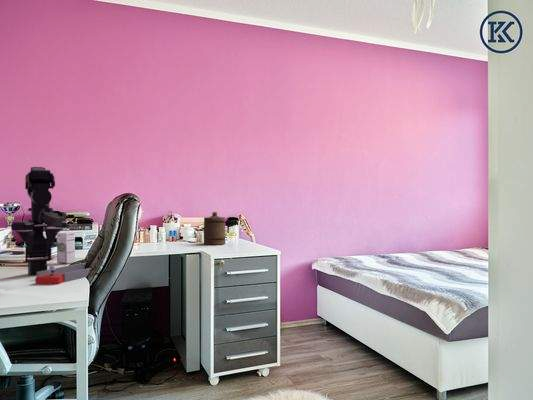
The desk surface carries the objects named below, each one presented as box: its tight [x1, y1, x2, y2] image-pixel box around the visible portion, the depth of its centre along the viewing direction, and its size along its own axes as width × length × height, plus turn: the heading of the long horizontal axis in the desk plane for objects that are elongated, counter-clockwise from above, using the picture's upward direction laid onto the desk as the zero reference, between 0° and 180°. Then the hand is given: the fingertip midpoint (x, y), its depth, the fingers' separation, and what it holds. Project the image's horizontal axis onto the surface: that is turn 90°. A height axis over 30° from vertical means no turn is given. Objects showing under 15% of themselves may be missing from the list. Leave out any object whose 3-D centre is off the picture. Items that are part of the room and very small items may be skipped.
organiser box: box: [36, 261, 91, 283], centre depth 160 cm, size 13×25×3 cm, turn 162°
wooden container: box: [203, 211, 226, 246], centre depth 281 cm, size 15×15×22 cm
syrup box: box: [56, 231, 76, 264], centre depth 195 cm, size 6×6×14 cm
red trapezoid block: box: [34, 265, 65, 286], centre depth 146 cm, size 8×7×6 cm
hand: (40, 249), depth 144 cm, fingers open, 8 cm apart
